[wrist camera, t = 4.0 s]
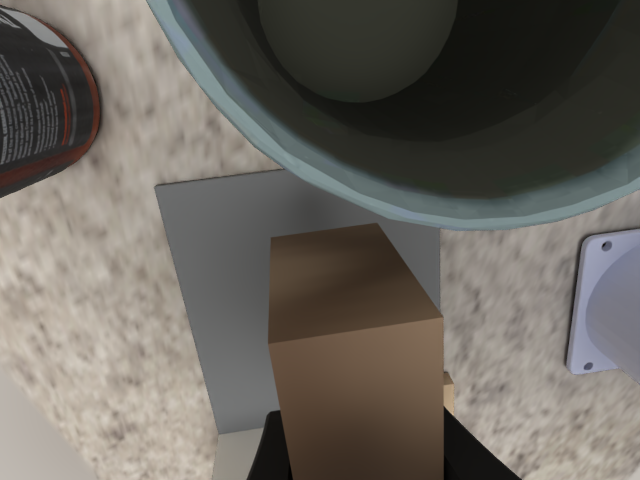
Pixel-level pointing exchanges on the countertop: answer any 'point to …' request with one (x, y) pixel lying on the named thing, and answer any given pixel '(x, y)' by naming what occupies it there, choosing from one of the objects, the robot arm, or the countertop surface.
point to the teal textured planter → (429, 100)
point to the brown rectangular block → (355, 358)
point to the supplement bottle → (41, 102)
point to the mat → (257, 273)
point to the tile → (236, 454)
